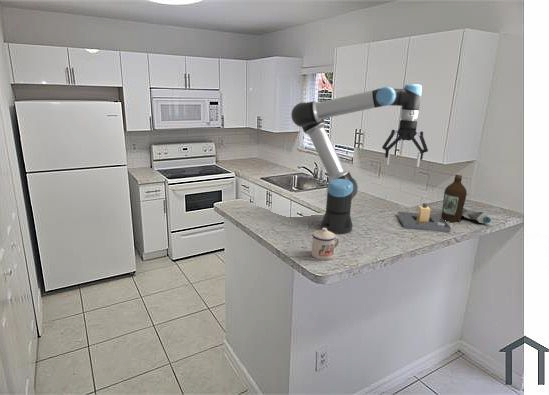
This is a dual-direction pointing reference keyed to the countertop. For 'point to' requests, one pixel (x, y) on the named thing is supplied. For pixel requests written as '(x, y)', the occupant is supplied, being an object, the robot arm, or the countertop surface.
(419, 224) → the socket plate
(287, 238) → the countertop surface
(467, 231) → the countertop surface
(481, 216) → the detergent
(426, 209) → the plug
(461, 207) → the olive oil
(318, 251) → the teacup with lid
